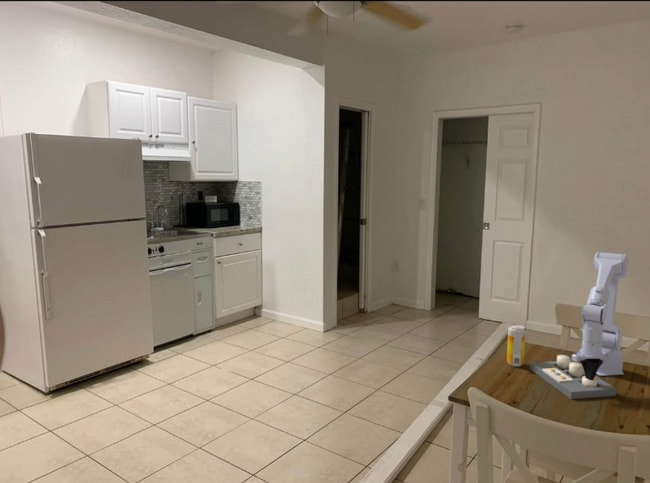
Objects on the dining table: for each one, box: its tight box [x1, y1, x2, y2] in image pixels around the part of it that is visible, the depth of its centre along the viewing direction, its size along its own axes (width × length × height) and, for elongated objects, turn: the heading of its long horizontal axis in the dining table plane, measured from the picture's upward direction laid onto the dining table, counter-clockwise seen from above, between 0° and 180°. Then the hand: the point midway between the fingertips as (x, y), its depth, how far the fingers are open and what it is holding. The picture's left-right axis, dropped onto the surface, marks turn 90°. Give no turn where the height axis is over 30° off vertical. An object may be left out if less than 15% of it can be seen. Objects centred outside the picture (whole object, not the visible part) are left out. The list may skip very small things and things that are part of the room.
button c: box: [582, 376, 597, 387], centre depth 156 cm, size 4×4×4 cm
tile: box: [542, 368, 573, 383], centre depth 162 cm, size 5×10×1 cm, turn 7°
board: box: [529, 360, 618, 400], centre depth 163 cm, size 16×24×2 cm, turn 7°
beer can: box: [506, 324, 526, 368], centre depth 177 cm, size 6×6×15 cm
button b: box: [569, 361, 583, 378], centre depth 163 cm, size 4×4×4 cm
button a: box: [556, 354, 572, 370], centre depth 170 cm, size 4×4×4 cm
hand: (589, 379), depth 156 cm, fingers closed, pressing on button c
